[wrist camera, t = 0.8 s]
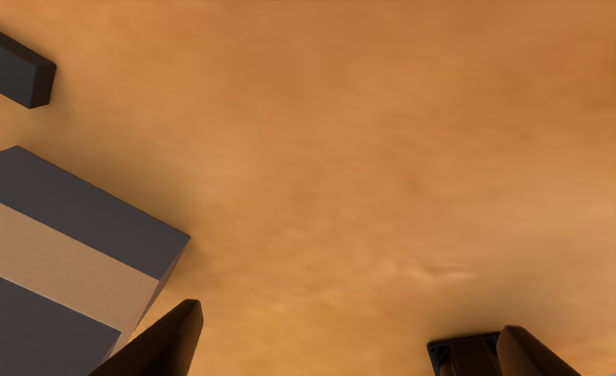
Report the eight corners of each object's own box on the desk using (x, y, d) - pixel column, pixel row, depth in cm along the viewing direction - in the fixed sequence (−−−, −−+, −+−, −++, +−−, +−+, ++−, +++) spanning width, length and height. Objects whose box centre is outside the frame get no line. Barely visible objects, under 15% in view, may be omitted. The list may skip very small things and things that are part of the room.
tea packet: (191, 236, 25) (48, 436, 13) (162, 289, 28) (23, 493, 16) (15, 144, 23) (-366, 279, 11) (4, 213, 26) (-303, 381, 14)
